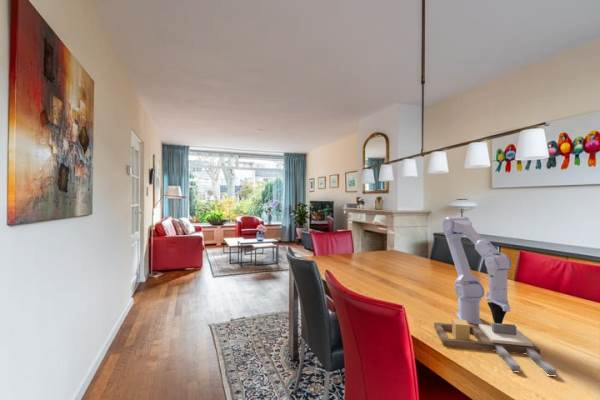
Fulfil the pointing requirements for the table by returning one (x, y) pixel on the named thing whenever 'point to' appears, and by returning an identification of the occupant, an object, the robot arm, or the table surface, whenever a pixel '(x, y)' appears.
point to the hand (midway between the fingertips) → (497, 323)
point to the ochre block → (460, 329)
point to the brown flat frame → (494, 347)
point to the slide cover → (505, 334)
